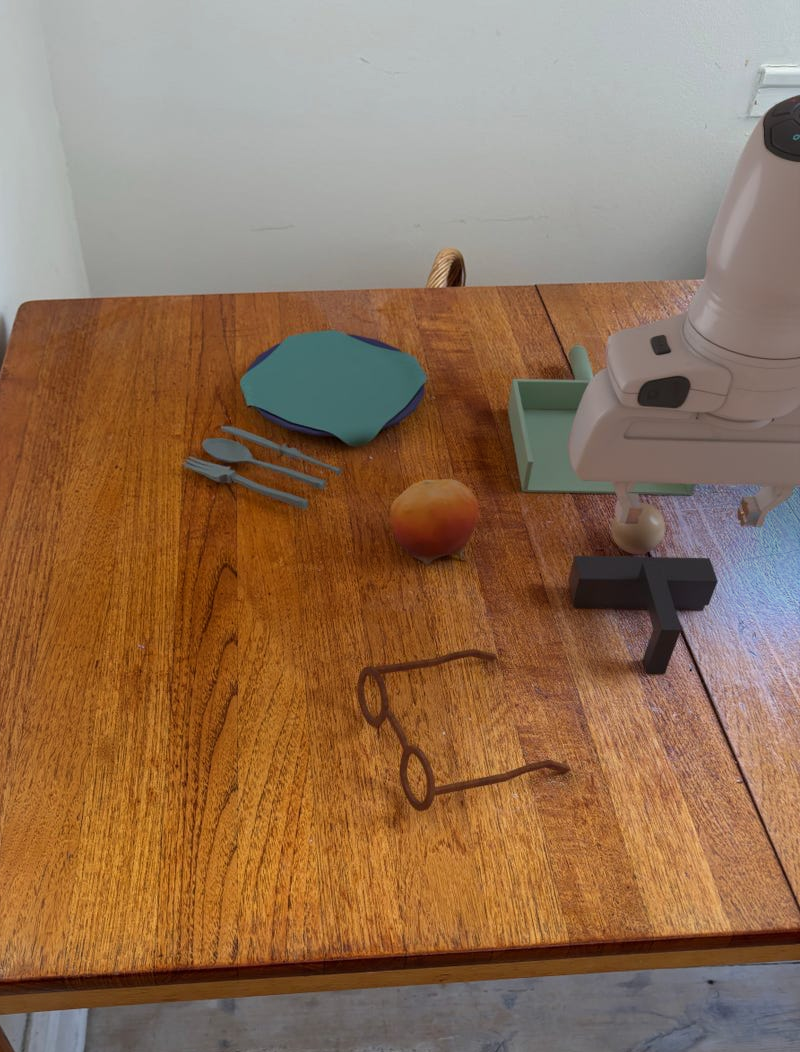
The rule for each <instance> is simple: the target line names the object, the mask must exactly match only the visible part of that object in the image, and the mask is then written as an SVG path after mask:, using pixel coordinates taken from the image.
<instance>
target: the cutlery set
mask: <svg viewBox="0 0 800 1052" xmlns="http://www.w3.org/2000/svg"><path fill="white" fill-rule="evenodd" d="M429 380H430V379H429V378H428V377H427V374H426V372H424V369H423V368H422V367H421V364H420V363H419V361H418V359H417V358H416V357H415V356H414V355H412V354H410V353H408V352H403V351H402V349H400V348H397V347H395V346H392V345H391V344H388V343H385V342H384V341H381V340H379V339H374V338H370V337H365V336H362V335H356V334H349V333H347V334H346V333H344V332H342V331H339V330H335V329H329V330H319V331H311V332H310V331H309V332H304V333H298V334H292V335H289V336H287V337H286V338H285V339H284V340H283V341H282V342H279V343H277V344H275V345H273V346H272V347H270V348H268V349H266V350H265V351H263V352H262V353H260V354H259V355H258V356H257V357H256V358H255V359H254V360H253V362H252V363H251V364H250V365H249V367H248V368H247V369H246V372H245V373H244V374H243V376H242V377H241V378H240V380H239V381H240V382H239V387H240V389H241V392H242V394H243V397H244V399H245V403H246V407H247V408H251V407H253V408H254V409H255V410H256V411H257V412H258V413H260V414H261V416H262V417H263V418H264V419H267V420H269V421H270V422H273V423H275V424H277V425H279V426H281V427H283V428H285V429H287V430H290V431H295V432H298V433H302V434H307V435H310V436H317V437H318V436H319V437H337V438H339V440H341V441H342V442H344V443H345V444H347V445H348V446H350V447H353V448H359V447H362V446H364V445H366V444H368V443H370V442H371V441H372V440H374V439H375V438H376V436H377V435H378V434H379V432H380V431H381V430H384V429H387V428H390V427H391V426H395V425H397V424H399V423H400V422H401V421H403V420H404V419H406V418H407V417H408V416H410V415H411V414H413V413H414V412H415V411H416V409H417V407H418V406H419V404H420V402H421V401H422V399H423V398H424V395H425V383H426V382H428V381H429ZM220 431H222V432H224V433H227V434H229V435H232V436H235V437H238V438H240V439H243V440H246V441H249V442H251V443H254V444H256V445H259V446H262V447H264V448H267V449H270V450H272V451H275V452H278V453H279V458H281V457H282V456H283V455H286V456H287V457H288V458H289V459H300V460H303V461H306V462H308V463H311V464H314V465H317V466H320V467H323V468H325V469H327V470H329V471H332V472H334V473H335V474H337V476H338V477H339V476H340V475H342V473H343V467H337V466H333V465H331V464H328V463H324V462H322V461H319V460H318V459H316V458H313V457H311V456H309V455H306V454H303V453H302V452H301V451H299V449H297V448H296V447H288V446H287V445H286V443H283V444H282V445H280V444H277V443H276V442H273V441H271V440H269V439H267V438H265V437H262V436H260V435H257V434H254V433H252V432H249V431H247V430H244V429H240V428H237V427H235V426H228V425H227V426H224V425H223V426H221V427H220ZM201 446H202V447H203V449H204V451H205V452H206V453H207V454H208V455H209V456H211V457H212V458H214V459H216V460H218V461H219V462H223V463H227V464H243V463H245V464H251V465H253V466H254V465H255V466H258V467H261V468H264V469H266V470H269V471H272V472H275V473H278V474H282V475H285V476H287V477H289V478H292V479H294V480H296V481H299V482H302V483H304V484H307V485H309V486H311V487H314V488H315V489H318V490H320V491H323V490H324V489H325V487H326V486H327V480H325V479H321V478H318V477H315V476H312V475H309V474H306V473H302V472H300V471H297V470H294V469H290V468H288V467H283V466H280V465H276V464H272V463H269V462H265V461H261V460H258V459H257V460H256V459H254V458H253V454H252V453H251V451H250V450H249V448H248V447H247V446H245V445H243V444H242V443H240V442H238V441H236V440H233V439H232V440H231V439H227V438H223V437H215V438H213V437H209V438H206V439H204V440H203V441H202V442H201ZM181 466H184V467H185V468H186V469H188V470H191V471H192V472H193V471H194V472H196V473H198V474H200V475H203V476H204V477H206V478H208V479H210V480H212V481H214V482H217V483H222V484H231V483H233V482H235V483H237V484H239V485H241V486H243V487H245V488H246V489H249V490H251V491H253V492H255V493H258V494H260V495H263V496H266V497H268V498H271V499H274V500H277V501H279V502H280V501H281V502H284V503H287V504H289V505H291V506H294V507H296V508H298V509H300V510H301V511H302V510H303V511H306V509H308V507H309V500H308V499H306V498H302V497H299V496H297V495H294V494H292V493H289V492H286V491H285V492H284V491H281V490H277V489H274V488H271V487H268V486H266V485H263V484H260V483H257V482H255V481H253V480H250V479H249V478H247V477H244V476H241V475H240V474H237V473H236V470H235V469H232V470H231V466H230V465H228V466H225V465H221V464H217V463H213V462H208V461H205V460H202V459H199V458H195V457H193V456H191V455H190V456H188V459H187V458H186V459H185V462H184V461H183V462H182V463H181Z"/></svg>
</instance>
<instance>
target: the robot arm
mask: <svg viewBox="0 0 800 1052" xmlns="http://www.w3.org/2000/svg"><path fill="white" fill-rule="evenodd" d="M707 242H708V243H707V247H706V253H705V254H706V256H705V257H706V270H705V274H704V277H703V280H702V283H701V285H700V287H699V288H698V290H697V291H696V293H695V294H694V295H693V297H692V299H691V301H690V304H689V306H688V309H687V310H686V311H683V312H680V313H678V314H676V315H675V314H674V315H673V316H669V317H666V318H662V319H658V320H655V321H652V322H648V323H645V324H641V325H636V326H632V327H628V328H624V329H620V330H618V331H615V332H613V333H612V334H610V335H609V337H608V339H607V340H606V345H605V364H606V367H604V368H602V369H601V370H599V371H598V372H597V373H595V374H594V375H593V376H594V377H593V378H592V380H591V381H590V382H589V384H588V386H587V388H586V390H585V392H584V394H583V397H582V399H581V402H580V404H579V407H578V410H577V412H576V415H575V418H574V422H573V425H572V428H571V432H570V436H569V441H568V452H569V458H570V462H571V466H572V468H573V470H574V471H575V473H576V474H577V476H578V477H579V478H580V479H581V480H583V481H604V482H612V484H613V487H614V491H615V493H616V494H615V496H616V498H617V499H616V503H615V507H614V516H615V515H616V519H617V522H618V523H628V524H637V523H638V521H639V516H640V515H641V512H642V505H641V502H642V501H640V500H641V498H640V494H638V493H628V492H627V491H632V490H633V489H634V486H635V483H636V482H642V483H680V484H696V485H715V486H717V485H719V486H753V487H754V486H755V487H756V486H757V487H761V488H760V490H758V491H757V492H756V493H755V494H754V495H750V496H749V495H748V496H747V495H746V496H745V495H744V496H742V498H741V500H740V506H739V507H738V508H737V512H736V517H737V520H738V521H739V525H740V527H750V528H762V527H763V526H764V522H765V521H766V518H767V516H768V514H769V512H771V511H773V510H774V509H776V508H777V507H778V506H780V505H781V504H782V503H783V502H785V501H786V500H787V499H789V498H790V497H791V496H792V495H793V492H794V491H795V488H796V487H797V488H800V94H798V95H794V96H791V97H789V98H786V99H784V100H782V101H779V102H777V103H776V104H774V105H773V106H771V107H770V108H769V109H768V110H767V111H766V112H764V113H763V115H762V116H761V118H760V119H759V121H757V124H756V125H755V127H754V129H753V130H752V132H751V134H750V135H749V136H748V139H747V141H746V143H745V145H744V147H743V149H742V151H741V153H740V155H739V158H738V159H737V161H736V164H735V167H734V169H733V171H732V173H731V175H730V178H729V181H728V183H727V185H726V188H725V191H724V194H723V197H722V199H721V201H720V205H719V207H718V211H717V214H716V217H715V220H714V222H713V226H712V229H711V233H710V236H709V239H708V241H707Z"/></svg>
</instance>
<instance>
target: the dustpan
mask: <svg viewBox="0 0 800 1052" xmlns="http://www.w3.org/2000/svg"><path fill="white" fill-rule="evenodd" d="M568 358H569V362H570V366H571V370H572V374H573V377H574V379H550V378H549V379H548V378H547V379H545V378H542V379H541V378H539V379H538V378H512V379H511V385H510V391H509V398H508V402H507V414H508V419H509V425H510V430H511V431H510V432H511V436H512V441H513V447H514V453H515V454H514V455H515V457H516V458H515V459H516V464H517V469H518V475H519V481H520V487H521V492H522V493H543V494H544V493H545V494H546V493H547V494H548V493H549V494H550V493H551V494H552V493H553V494H603V495H605V494H607V495H616V493H615V491H614V487H613V484H612V482H604V481H583V480H581V479H580V478H579V477H578V476H577V474H576V473H575V471H574V470H573V468H572V466H571V462H570V458H569V452H568V441H569V436H570V432H571V428H572V425H573V422H574V418H575V415H576V412H577V410H578V407H579V404H580V402H581V399H582V397H583V394H584V392H585V390H586V388H587V386H588V384H589V382H590V381H591V380H592V378H593V377H594V376H595V375H594V372H593V369H592V364H591V362H590V358H589V355H588V352H587V349H586V347H584V345H581V344H575V345H573V346H572V347H570V349H569V350H568ZM696 485H697V484H680V483H642V482H636V483H635V486H634V489H633V490H632V491H627V492H628V493H638V494H639V495H655V496H656V495H658V496H659V495H660V496H663V495H664V496H693V494H694V491H695V488H696Z"/></svg>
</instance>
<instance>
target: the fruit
mask: <svg viewBox="0 0 800 1052" xmlns="http://www.w3.org/2000/svg"><path fill="white" fill-rule="evenodd" d="M479 507H480V506H479V503H478V499H477V497H476V496H475V493H473V491H472V490H471V489H470V488H469V487H467V486H466V485H465V484H463V482H460V481H458V480H456V479H450V478H442V479H423V480H420V481H416V482H414V483H412V484H411V485H410V486H408V487H407V488H406V489H405V490H404V491H403V492H401V494H399V495H398V497H396V498H395V499H394V500H393V502H392V503H391V506H390V525H391V528H392V531H393V532H392V533H393V535H394V537H395V539H396V542H397V544H398V545H399V546H400V547H401V548H402V549H403V550H404V552H405V553H406V554H407V555H408V556H411V557H413V558H414V559H417V560H419V561H420V562H423V563H424V564H425V565H426V567H429V565H430V564H431V562H433V561H435V560H437V559H439V558H441V557H444V556H445V557H446V556H449V555H451V556H452V555H453V556H460V557H462V558H463V560H465V561H467V558H466V556H465V555H464V553H463V549H465V547H467V545H468V542H469V541H470V539H471V537H472V535H473V533H474V530H475V527H476V524H477V521H478V516H479V510H480V508H479Z"/></svg>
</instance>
